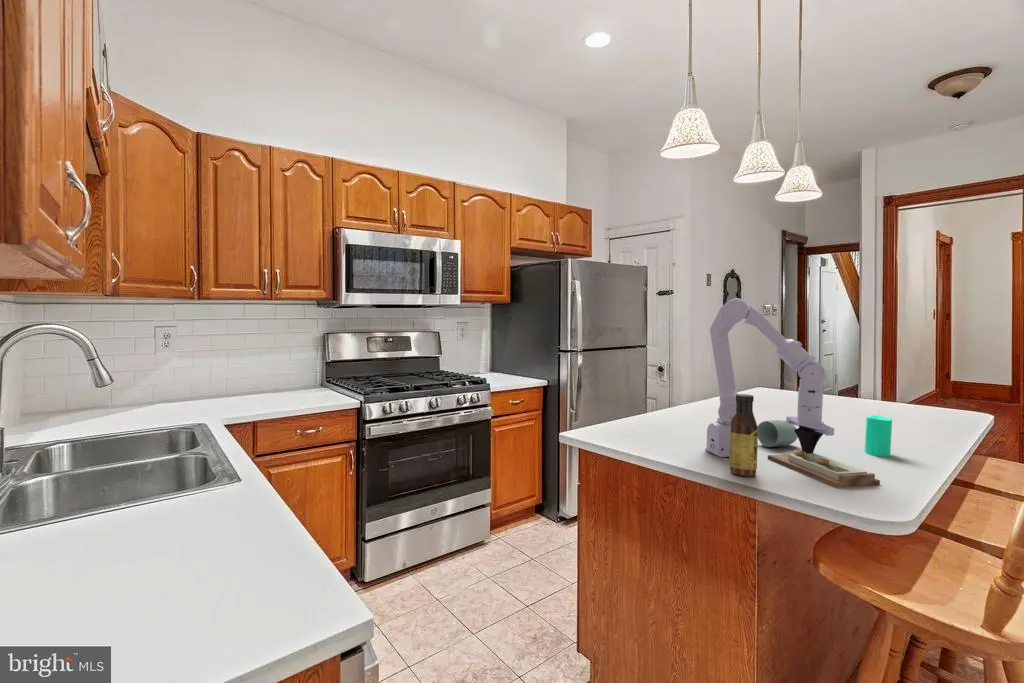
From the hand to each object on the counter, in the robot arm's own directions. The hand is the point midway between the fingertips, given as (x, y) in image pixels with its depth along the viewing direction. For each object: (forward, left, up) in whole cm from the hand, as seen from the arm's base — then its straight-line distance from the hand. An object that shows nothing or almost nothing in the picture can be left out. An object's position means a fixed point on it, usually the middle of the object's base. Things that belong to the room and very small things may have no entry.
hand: (807, 455), depth 136 cm
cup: (+9, +17, +2) cm, 19 cm away
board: (-3, -7, -2) cm, 8 cm away
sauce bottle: (-24, -5, -2) cm, 24 cm away
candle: (+26, +4, -2) cm, 27 cm away
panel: (-3, -9, -1) cm, 9 cm away
